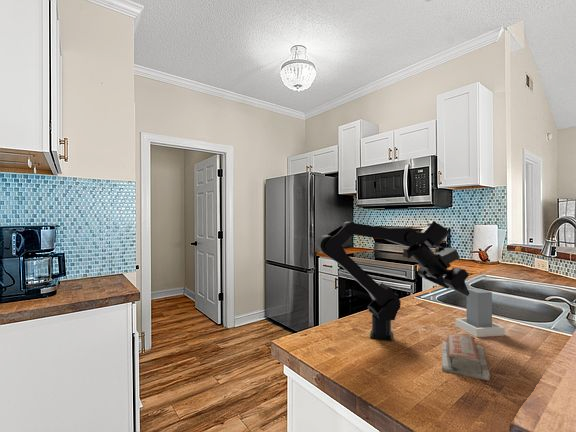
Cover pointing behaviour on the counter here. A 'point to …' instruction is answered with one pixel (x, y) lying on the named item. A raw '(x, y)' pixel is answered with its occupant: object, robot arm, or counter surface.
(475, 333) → the tray
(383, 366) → the counter surface
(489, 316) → the slate block
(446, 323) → the counter surface
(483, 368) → the packaged product
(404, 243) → the robot arm
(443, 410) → the counter surface
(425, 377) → the counter surface
